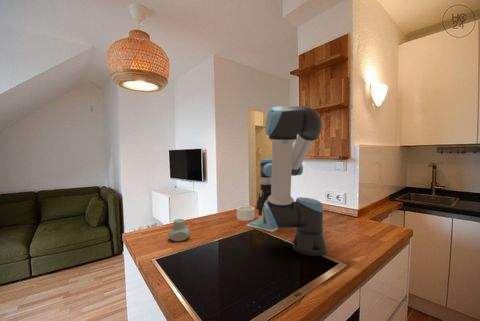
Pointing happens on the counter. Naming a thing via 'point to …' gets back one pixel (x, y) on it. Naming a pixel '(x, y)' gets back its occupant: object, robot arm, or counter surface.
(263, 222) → the lid
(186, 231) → the air freshener
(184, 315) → the counter surface
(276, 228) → the mat
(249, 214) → the bowl
